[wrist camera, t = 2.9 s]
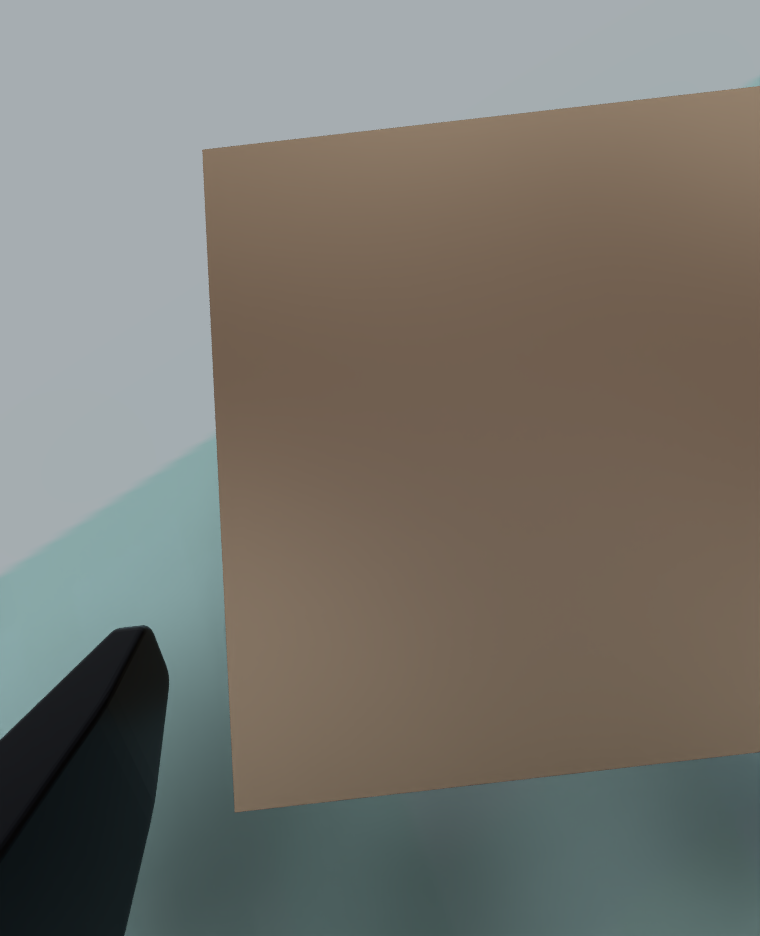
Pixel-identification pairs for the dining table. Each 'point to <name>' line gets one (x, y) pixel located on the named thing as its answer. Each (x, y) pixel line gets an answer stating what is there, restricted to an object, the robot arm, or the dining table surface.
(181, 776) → the dining table surface
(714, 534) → the walnut pillar
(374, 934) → the dining table surface
